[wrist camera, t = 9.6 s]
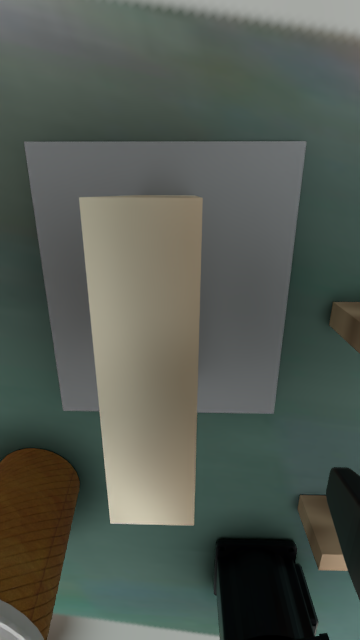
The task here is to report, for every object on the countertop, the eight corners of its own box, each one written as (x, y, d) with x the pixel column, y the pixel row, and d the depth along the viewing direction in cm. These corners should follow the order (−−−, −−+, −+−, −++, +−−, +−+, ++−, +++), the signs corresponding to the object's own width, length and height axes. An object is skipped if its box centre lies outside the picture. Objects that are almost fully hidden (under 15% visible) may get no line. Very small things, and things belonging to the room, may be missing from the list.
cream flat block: (144, 379, 21) (110, 523, 12) (137, 195, 17) (78, 197, 8) (190, 379, 21) (193, 525, 12) (194, 195, 17) (202, 197, 8)
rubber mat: (67, 403, 23) (63, 410, 22) (30, 143, 17) (23, 141, 17) (270, 406, 23) (273, 413, 22) (301, 143, 17) (306, 141, 16)
